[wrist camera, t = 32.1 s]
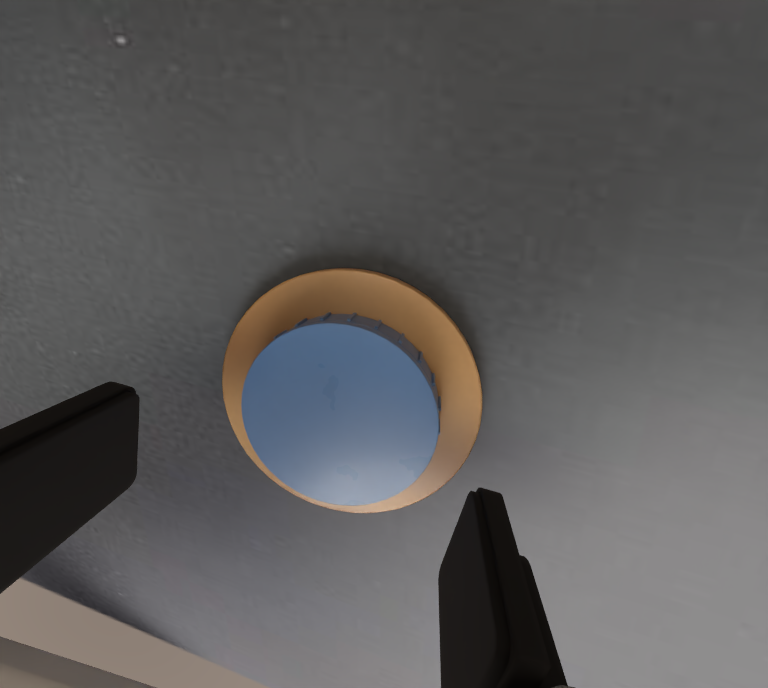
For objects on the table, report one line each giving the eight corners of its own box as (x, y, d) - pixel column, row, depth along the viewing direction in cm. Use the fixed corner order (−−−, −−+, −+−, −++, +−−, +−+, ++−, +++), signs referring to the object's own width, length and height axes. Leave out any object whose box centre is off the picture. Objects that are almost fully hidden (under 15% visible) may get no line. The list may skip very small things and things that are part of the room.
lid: (410, 502, 14) (407, 531, 13) (247, 451, 15) (228, 473, 13) (466, 343, 12) (470, 357, 11) (273, 288, 13) (253, 295, 11)
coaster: (437, 531, 15) (437, 543, 15) (218, 464, 16) (210, 473, 15) (520, 309, 12) (524, 313, 12) (244, 236, 13) (235, 236, 12)
